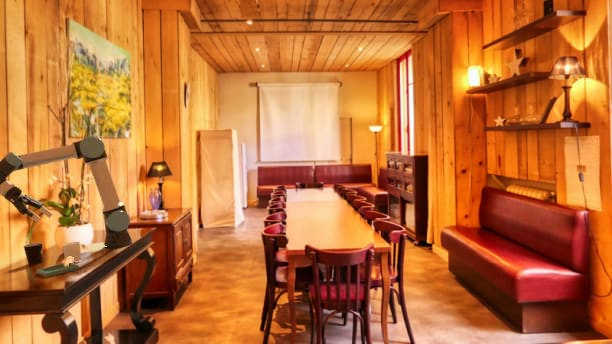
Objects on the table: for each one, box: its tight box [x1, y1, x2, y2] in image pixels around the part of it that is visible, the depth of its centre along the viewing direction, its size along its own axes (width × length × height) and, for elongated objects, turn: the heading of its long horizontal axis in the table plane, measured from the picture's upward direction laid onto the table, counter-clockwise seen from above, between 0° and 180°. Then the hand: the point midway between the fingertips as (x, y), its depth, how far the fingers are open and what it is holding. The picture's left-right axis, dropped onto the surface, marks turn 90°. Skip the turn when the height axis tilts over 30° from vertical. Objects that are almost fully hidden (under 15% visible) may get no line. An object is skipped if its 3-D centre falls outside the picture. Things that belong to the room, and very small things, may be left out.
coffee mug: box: [23, 242, 44, 266], centre depth 246 cm, size 12×9×10 cm
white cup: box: [62, 241, 82, 261], centre depth 236 cm, size 8×8×10 cm
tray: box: [36, 262, 80, 279], centre depth 220 cm, size 14×14×2 cm
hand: (45, 217), depth 234 cm, fingers open, 13 cm apart
